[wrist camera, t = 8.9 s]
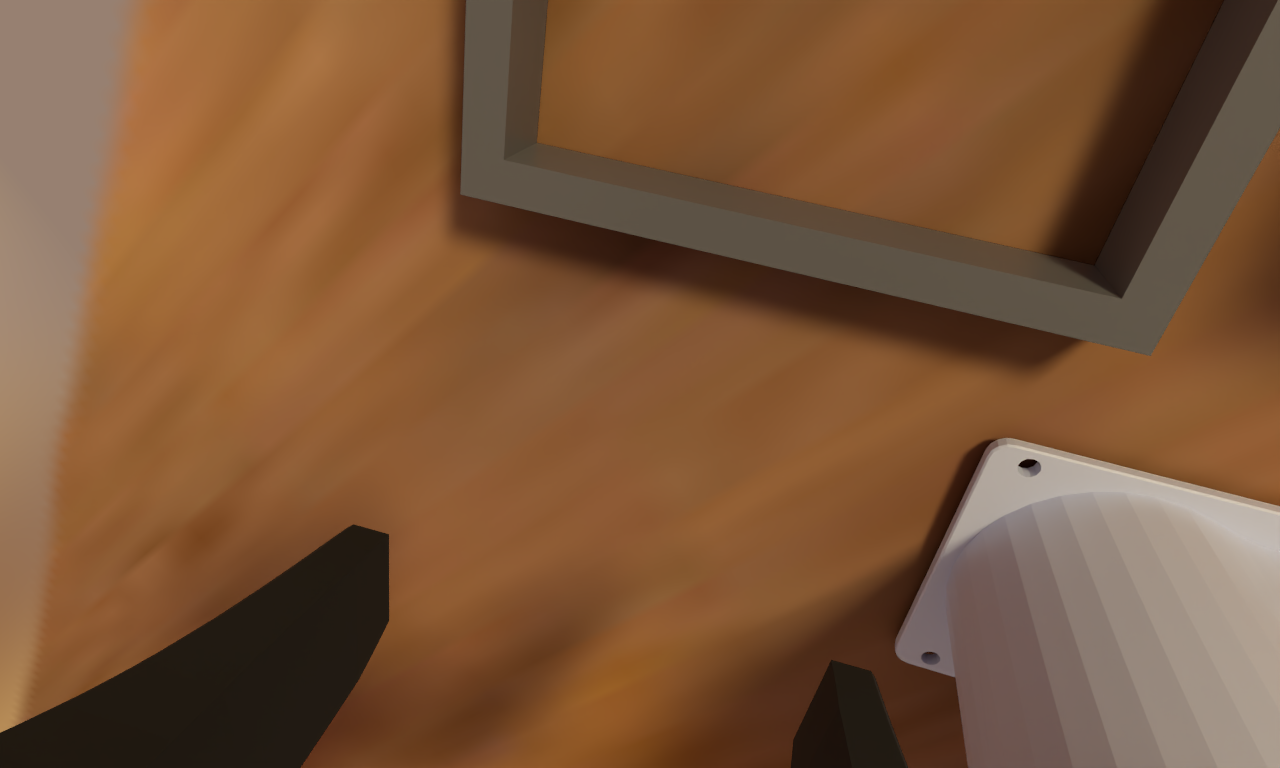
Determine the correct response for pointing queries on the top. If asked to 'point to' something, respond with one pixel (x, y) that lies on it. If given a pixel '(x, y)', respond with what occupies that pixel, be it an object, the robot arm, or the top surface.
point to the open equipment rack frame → (887, 250)
